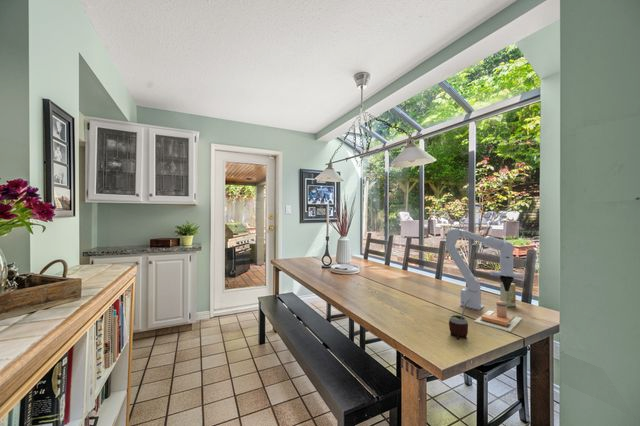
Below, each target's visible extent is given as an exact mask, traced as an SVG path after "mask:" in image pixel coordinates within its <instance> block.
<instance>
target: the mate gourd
mask: <svg viewBox="0 0 640 426" xmlns="http://www.w3.org/2000/svg"><path fill="white" fill-rule="evenodd" d="M468 302H469V300H468V301H467V302H466V303H465V305H464V306H463V309H462V313H461V315H459V314H457V315H456V314H454V315H453V314H452V315H451V316H450V318H449V320H448V326H449V331H450V336H452V337H456V340H460V338H462V339H466V340H467V339H468V333H469V323H468V320H467V319H466V318H465V317H464V315H465V311H466V308H467V307H466V304H467V303H468Z"/></svg>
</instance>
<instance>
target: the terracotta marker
mask: <svg viewBox="0 0 640 426" xmlns="http://www.w3.org/2000/svg"><path fill="white" fill-rule="evenodd" d="M507 308H508V307H507V303H506V302H504V301H500V300H497V301H496V312H497V316H498V317H500V318H507V315H508V312H507V311H508V309H507Z"/></svg>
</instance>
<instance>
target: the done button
mask: <svg viewBox="0 0 640 426" xmlns="http://www.w3.org/2000/svg"><path fill="white" fill-rule="evenodd" d="M483 314H484V315H483ZM483 314H482V315H483V316H482V315H481V316H480V317H482V320H486V321H489V322H493V323H497V324H501V325H504V326H507V325H508V324H509V320H506V319H502V318H498V317H494V316H490V315H486V314H485V313H483Z"/></svg>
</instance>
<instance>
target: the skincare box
mask: <svg viewBox="0 0 640 426" xmlns="http://www.w3.org/2000/svg"><path fill="white" fill-rule="evenodd" d="M499 285H500V289H499V290H500V292H499V293H500V294H499V296H500V299H499V301H504V302H506V303H507V308H508V307H516V304H517V303H516V300H517V298H516V293H517V292H516V291H517V289H516V286H517V284H516V283H513V282H512V283H511V285H510V289H509V291H505V288H504V285H503V283H502V282H500V284H499Z"/></svg>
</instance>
